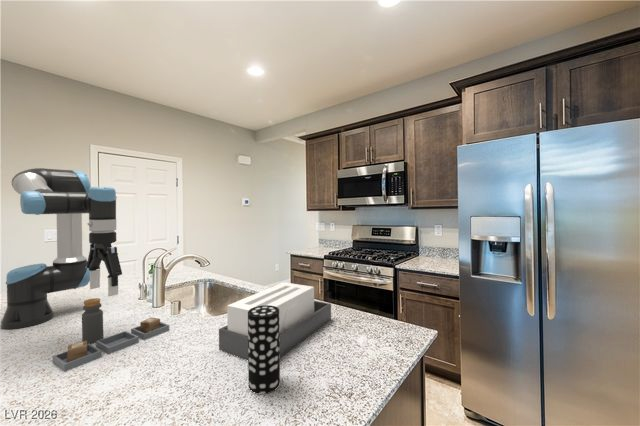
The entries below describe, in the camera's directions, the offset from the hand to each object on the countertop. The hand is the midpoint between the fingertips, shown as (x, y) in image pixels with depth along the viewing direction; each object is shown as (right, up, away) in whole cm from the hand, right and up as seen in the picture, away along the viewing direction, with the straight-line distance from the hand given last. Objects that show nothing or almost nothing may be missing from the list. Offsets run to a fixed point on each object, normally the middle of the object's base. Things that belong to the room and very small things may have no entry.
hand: (103, 291), depth 98 cm
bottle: (-5, -19, +1) cm, 19 cm away
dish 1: (0, -19, -11) cm, 22 cm away
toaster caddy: (+61, -18, +7) cm, 64 cm away
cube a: (+12, -18, +8) cm, 22 cm away
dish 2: (+6, -18, -2) cm, 19 cm away
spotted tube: (+61, -19, -23) cm, 68 cm away
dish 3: (+12, -18, +8) cm, 23 cm away
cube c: (0, -18, -11) cm, 21 cm away
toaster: (+61, -18, +7) cm, 64 cm away
